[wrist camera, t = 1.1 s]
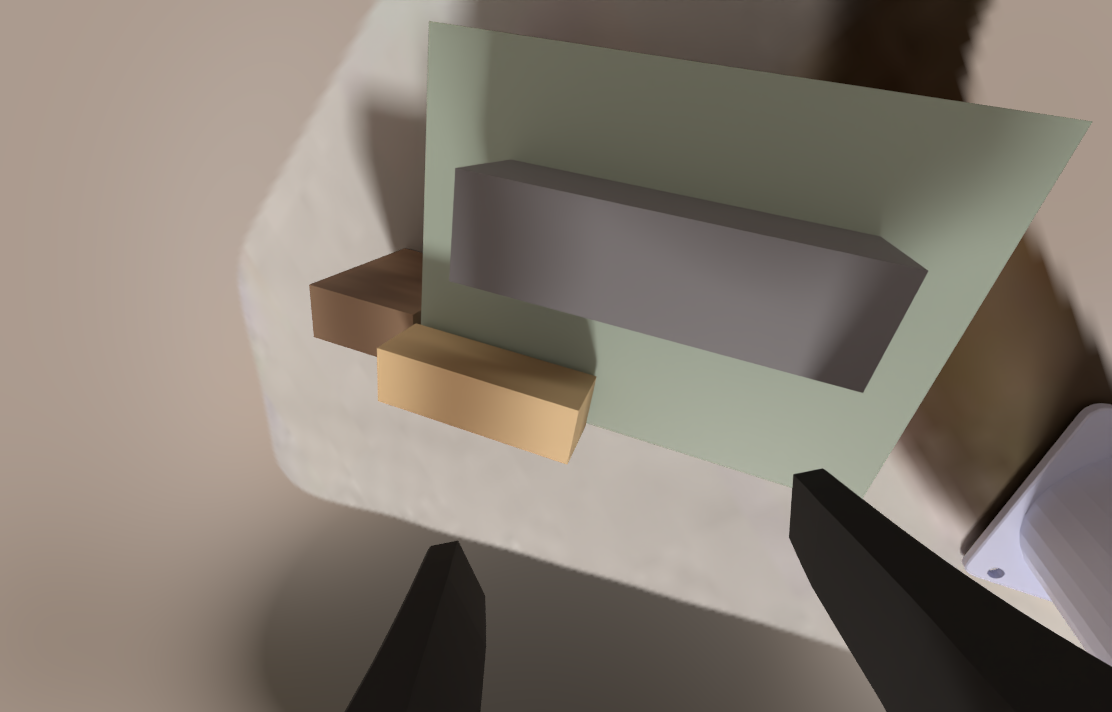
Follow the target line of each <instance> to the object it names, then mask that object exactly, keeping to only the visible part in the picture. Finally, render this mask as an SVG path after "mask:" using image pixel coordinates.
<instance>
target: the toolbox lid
mask: <svg viewBox="0 0 1112 712" xmlns="http://www.w3.org/2000/svg"><path fill="white" fill-rule="evenodd" d="M1091 123H1092V121H1086V120H1078V119H1073V118H1066V117H1059V116H1053V115H1046V114H1040V113H1033V112H1026V111H1020V110H1013V109H1006V108H1000V107H993V106H987V105H980V104H974V103H967V102H960V101H954V100H947V99H940V98H934V97H927V96H921V95H914V94H907V93H901V92H894V91H888V90H881V89H874V88H868V87H861V86H855V85H848V84H841V83H835V82H828V81H822V80H815V79H808V78H802V77H795V76H789V75H782V74H775V73H769V72H762V71H756V70H749V69H742V68H736V67H729V66H723V65H716V64H709V63H703V62H696V61H690V60H683V59H676V58H670V57H663V56H657V55H650V54H643V53H637V52H630V51H624V50H617V49H610V48H604V47H597V46H591V45H584V44H577V43H571V42H564V41H558V40H551V39H544V38H538V37H531V36H524V35H518V34H511V33H505V32H498V31H491V30H485V29H478V28H472V27H465V26H458V25H452V24H445V23H439V22H432V21H429V36H428V74H427V113H426V151H425V190H424V228H423V267H422V305H421V325H424V326H427V327H430V328H434V329H437V330H441V331H444V332H447V333H451V334H454V335H458V336H461V337H464V338H468V339H471V340H475V341H478V342H481V343H485V344H488V345H492V346H495V347H498V348H502V349H505V350H509V351H512V352H515V353H519V354H522V355H526V356H529V357H532V358H536V359H539V360H543V361H546V362H549V363H553V364H556V365H560V366H563V367H566V368H570V369H573V370H576V371H580V372H583V373H587V374H590V375H593V376H597V377H596V382H595V386H594V391H593V395H592V399H591V404H590V408H589V413H588V417H587V422H586V423H588V424H591V425H594V426H597V427H601V428H604V429H607V430H610V431H613V432H616V433H620V434H623V435H626V436H629V437H632V438H635V439H639V440H642V441H645V442H648V443H651V444H654V445H658V446H661V447H664V448H667V449H670V450H673V451H676V452H680V453H683V454H686V455H689V456H692V457H695V458H699V459H702V460H705V461H708V462H711V463H714V464H718V465H721V466H724V467H727V468H730V469H733V470H737V471H740V472H743V473H746V474H749V475H752V476H756V477H759V478H762V479H765V480H768V481H771V482H775V483H778V484H781V485H784V486H787V487H790V488H792V486H793V474H797V473H802V472H807V471H812V470H817V469H822V468H823V469H825V470H826V471H828V472H829V473H830V474H832V475H833V476H834V477H835V478H837V479H838V480H839V481H840V482H842V483H843V484H844V485H845V486H847V487H848V488H849V489H850V490H852V491H853V492H854V493H856V494H857V495H858V496H859V497H861V498H862V499H863V497H864V495H865V494H866V492H867V490H868V489H869V487H870V485H871V484H872V482H873V480H874V479H875V477H876V476H877V474H878V472H879V471H880V469H881V467H882V466H883V464H884V462H885V461H886V459H887V458H888V456H889V454H890V453H891V451H892V449H893V448H894V446H895V444H896V443H897V441H898V440H899V438H900V436H901V435H902V433H903V431H904V430H905V428H906V426H907V425H908V423H909V422H910V420H911V418H912V417H913V415H914V413H915V412H916V410H917V408H918V407H919V405H920V403H921V402H922V400H923V399H924V397H925V395H926V394H927V392H928V390H929V389H930V387H931V385H932V384H933V382H934V381H935V379H936V377H937V376H938V374H939V372H940V371H941V369H942V367H943V366H944V364H945V363H946V361H947V359H948V358H949V356H950V354H951V353H952V351H953V349H954V348H955V346H956V345H957V343H958V341H959V340H960V338H961V336H962V335H963V333H964V331H965V330H966V328H967V327H968V325H969V323H970V322H971V320H972V318H973V317H974V315H975V313H976V312H977V310H978V308H979V307H980V305H981V304H982V302H983V300H984V299H985V297H986V295H987V294H988V292H989V290H990V289H991V287H992V286H993V284H994V282H995V281H996V279H997V277H998V276H999V274H1000V272H1001V271H1002V269H1003V268H1004V266H1005V264H1006V263H1007V261H1008V259H1009V258H1010V256H1011V254H1012V253H1013V251H1014V250H1015V248H1016V246H1017V245H1018V243H1019V241H1020V240H1021V238H1022V236H1023V235H1024V233H1025V232H1026V230H1027V228H1028V227H1029V225H1030V223H1031V222H1032V220H1033V218H1034V217H1035V215H1036V213H1037V212H1038V210H1039V209H1040V207H1041V205H1042V203H1043V202H1044V200H1045V199H1046V197H1047V195H1048V194H1049V192H1050V190H1051V189H1052V187H1053V186H1054V184H1055V182H1056V180H1057V179H1058V177H1059V176H1060V174H1061V173H1062V171H1063V169H1064V168H1065V166H1066V164H1067V163H1068V161H1069V159H1070V158H1071V156H1072V154H1073V153H1074V151H1075V150H1076V148H1077V146H1078V145H1079V143H1080V141H1081V140H1082V138H1083V136H1084V135H1085V133H1086V132H1087V130H1088V128H1089V126H1090V125H1091Z"/></svg>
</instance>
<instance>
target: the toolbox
mask: <svg viewBox="0 0 1112 712" xmlns="http://www.w3.org/2000/svg"><path fill="white" fill-rule="evenodd" d="M422 267H423V253H421V252H417V251H414V250H410V249H406V248H404V249H402V250H399V251H397V252H394V253H391V254H389V255H386V256H383V257H381V258H378V259H375V260H373V261H370V262H368V263H365V264H362V265H360V266H357V267H354V268H352V269H349V270H347V271H344V272H341V273H339V274H336V275H333V276H331V277H328V278H326V279H323V280H320V281H318V282H315V283H312V284H310V285H309V286H310V297H311V309H312V320H313V331H314V337H316V338H319V339H322V340H325V341H328V342H332V343H335V344H338V345H341V346H344V347H347V348H351V349H354V350H357V351H360V352H363V353H366V354H370V355H373V356H376V357H377V348H378V347H379V346H381V345H383V344H384V343H386V342H387V341H389V340H390V339H392V338H394V337H395V336H397V335H398V334H400V333H401V332H403V331H405V330H406V329H408V328H409V327H411V326H412V325H414V324H416V323H417V324H420V325H421V305H422Z"/></svg>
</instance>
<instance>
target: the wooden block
mask: <svg viewBox="0 0 1112 712" xmlns="http://www.w3.org/2000/svg"><path fill="white" fill-rule="evenodd" d="M377 373H378V401H380V402H383V403H386V404H389V405H392V406H395V407H398V408H401V409H404V410H407V411H410V412H413V413H416V414H419V415H422V416H425V417H428V418H431V419H434V420H437V421H440V422H443V423H445V424H448V425H451V426H454V427H457V428H460V429H463V430H466V431H469V432H472V433H475V434H478V435H481V436H484V437H487V438H490V439H493V440H496V441H499V442H502V443H505V444H508V445H511V446H514V447H517V448H520V449H523V450H526V451H529V452H532V453H535V454H537V455H540V456H543V457H546V458H549V459H552V460H555V461H558V462H561V463H564V464H568V462H569V460H570V458H571V456H572V453H573V451H574V449H575V447H576V445H577V443H578V441H579V439H580V437H581V434H582V432H583V430H584V428H585V426H586V422H587V417H588V413H589V408H590V404H591V399H592V395H593V391H594V386H595V382H596V377H597V376H593V375H590V374H587V373H583V372H580V371H576V370H573V369H570V368H566V367H563V366H560V365H556V364H553V363H549V362H546V361H543V360H539V359H536V358H532V357H529V356H526V355H522V354H519V353H515V352H512V351H509V350H505V349H502V348H498V347H495V346H492V345H488V344H485V343H481V342H478V341H475V340H471V339H468V338H464V337H461V336H458V335H454V334H451V333H447V332H444V331H441V330H437V329H434V328H430V327H427V326H424V325H420V324H417V323H416V324H414V325H412V326H411V327H409V328H408V329H406V330H405V331H403V332H401V333H400V334H398V335H397V336H395V337H394V338H392V339H390V340H389V341H387V342H386V343H384V344H383V345H381V346H379V347H378V348H377Z"/></svg>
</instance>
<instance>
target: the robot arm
mask: <svg viewBox="0 0 1112 712" xmlns="http://www.w3.org/2000/svg"><path fill="white" fill-rule="evenodd" d="M789 538H790V540H791V543H792V545H793V547H794V549H795V552H796V554H797V556H798V558H799V560H800V563H801V565H802V567H803V569H804V571H805V573H806V575H807V577H808V579H809V582H810V584H811V586H812V588H813V589H814V591H815V593H816V594H817V596H818V598H819V599H820V601H821V603H822V604H823V606H824V608H825V610H826V611H827V613H828V615H829V616H830V618H831V620H832V621H833V623H834V625H835V626H836V628H837V630H838V631H839V633H840V635H841V636H842V638H843V640H844V641H845V643H846V644H847V646H848V648H849V649H850V651H851V653H852V654H853V656H854V658H855V659H856V661H857V663H858V664H859V666H860V667H861V669H862V671H863V673H864V674H865V676H866V678H867V679H868V681H869V683H870V684H871V686H872V688H873V689H874V691H875V692H876V694H877V696H878V697H879V699H880V701H881V703H882V704H883V706H884V708H885V710H886V712H1112V405H1111V404H1105V403H1098V404H1092V405H1090V406H1088V407H1085V408H1084V409H1083V410H1082V411H1081V412H1080V413H1079V414H1078V415H1077V416H1076V418H1075V419H1074V420H1073V421H1072V422H1071V424H1070V425H1069V426H1068V427H1067V429H1066V430H1065V431H1064V432H1063V434H1062V435H1061V436H1060V437H1059V439H1058V440H1057V441H1056V442H1055V444H1054V445H1053V446H1052V447H1051V449H1050V450H1049V451H1048V452H1047V454H1046V455H1045V456H1044V457H1043V459H1042V460H1041V461H1040V462H1039V464H1038V465H1037V466H1036V467H1035V468H1034V470H1033V471H1032V472H1031V473H1030V475H1029V476H1028V477H1027V478H1026V480H1025V481H1024V482H1023V483H1022V485H1021V486H1020V487H1019V488H1018V490H1017V491H1016V492H1015V493H1014V495H1013V496H1012V497H1011V498H1010V500H1009V501H1008V502H1007V503H1006V505H1005V506H1004V507H1003V508H1002V510H1001V511H1000V512H999V513H998V515H997V516H996V517H995V518H994V519H993V521H992V522H991V523H990V524H989V526H988V527H987V528H986V529H985V531H984V532H983V533H982V534H981V536H980V537H979V538H978V539H977V541H976V542H975V543H974V544H973V546H972V547H971V548H970V549H969V551H968V552H967V553H966V554H965V556H964V557H963V559H962V564H963V566H964V568H965V570H966V571H967V572H968V573H969V574H971V575H973V576H975V577H978V578H981V579H984V580H987V581H990V582H993V583H996V584H999V585H1002V586H1006V587H1009V588H1012V589H1015V590H1018V591H1021V592H1024V593H1027V594H1030V595H1033V596H1036V597H1039V598H1042V599H1045V600H1048V601H1051V602H1053V603H1054V605H1055V606H1056V608H1057V609H1058V610H1059V612H1060V613H1061V615H1062V616H1063V618H1064V619H1065V621H1066V622H1067V624H1068V625H1069V627H1070V628H1071V629H1072V631H1073V632H1074V634H1075V635H1076V637H1077V638H1078V640H1079V641H1080V643H1081V644H1082V646H1083V647H1084V648H1085V650H1086V651H1087V652H1086V651H1084V650H1083V649H1081V648H1079V647H1077V646H1076V645H1074V644H1072V643H1071V642H1069V641H1068V640H1066V639H1064V638H1063V637H1061V636H1059V635H1058V634H1056V633H1054V632H1053V631H1051V630H1049V629H1048V628H1046V627H1044V626H1043V625H1041V624H1040V623H1038V622H1036V621H1035V620H1033V619H1032V618H1030V617H1028V616H1027V615H1025V614H1024V613H1022V612H1021V611H1019V610H1017V609H1016V608H1014V607H1013V606H1011V605H1010V604H1008V603H1007V602H1005V601H1004V600H1002V599H1001V598H999V597H998V596H996V595H995V594H993V593H992V592H990V591H989V590H987V589H986V588H984V587H983V586H981V585H980V584H978V583H977V582H975V581H974V580H972V579H971V578H969V577H968V576H966V575H965V574H963V573H962V572H961V571H959V570H958V569H956V568H955V567H953V566H952V565H951V564H949V563H948V562H946V561H945V560H943V559H942V558H941V557H939V556H938V555H937V554H935V553H934V552H932V551H931V550H930V549H928V548H927V547H926V546H924V545H923V544H921V543H920V542H919V541H917V540H916V539H915V538H913V537H912V536H910V535H909V534H908V533H906V532H905V531H904V530H902V529H901V528H900V527H898V526H897V525H896V524H894V523H893V522H892V521H890V520H889V519H888V518H886V517H885V516H884V515H883V514H881V513H880V512H879V511H877V510H876V509H875V508H873V507H872V506H871V505H870V504H868V503H867V502H866V501H864V500H863V499H862V498H861V497H859V496H858V495H857V494H856V493H854V492H853V491H852V490H850V489H849V488H848V487H847V486H845V485H844V484H843V483H842V482H840V481H839V480H838V479H837V478H835V477H834V476H833V475H832V474H830V473H829V472H828V471H826V470H825V469H823V468H822V469H817V470H812V471H807V472H802V473H797V474H793V486H792V501H791V516H790V532H789ZM993 568H998V569H996V570H990V569H993ZM485 651H486V613H485V595H484V593H483V591H482V588H481V586H480V584H479V582H478V580H477V578H476V576H475V574H474V572H473V570H472V568H471V566H470V564H469V562H468V560H467V558H466V556H465V554H464V552H463V550H462V548H461V546H460V544H459V542H458V541H454V542H449V543H444V544H439V545H434V546H431V547H430V548H429V549H428V551H427V553H426V556H425V557H424V559H423V562H422V564H421V566H420V568H419V570H418V573H417V575H416V577H415V579H414V581H413V583H412V585H411V587H410V590H409V592H408V594H407V596H406V598H405V600H404V602H403V604H402V606H401V608H400V610H399V612H398V614H397V616H396V618H395V620H394V622H393V624H392V626H391V628H390V630H389V632H388V634H387V636H386V638H385V639H384V641H383V643H382V645H381V647H380V649H379V651H378V653H377V655H376V657H375V659H374V661H373V663H372V664H371V666H370V668H369V670H368V671H367V673H366V675H365V677H364V679H363V680H362V682H361V684H360V686H359V687H358V689H357V691H356V693H355V694H354V696H353V698H352V700H351V701H350V703H349V705H348V707H347V709H346V710H345V712H480V709H481V698H482V687H483V675H484V663H485Z"/></svg>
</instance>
